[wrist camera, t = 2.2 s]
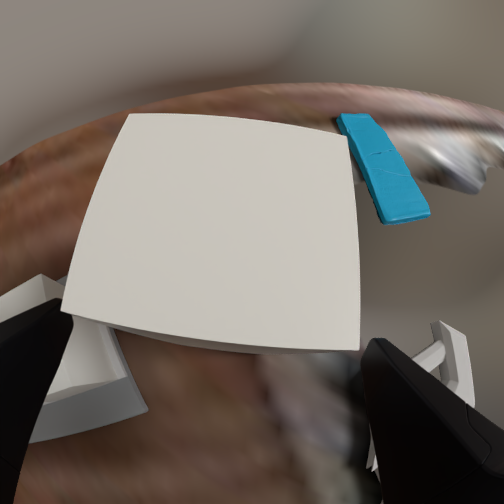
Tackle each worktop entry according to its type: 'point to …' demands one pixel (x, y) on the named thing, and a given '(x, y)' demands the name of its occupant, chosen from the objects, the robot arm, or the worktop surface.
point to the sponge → (383, 171)
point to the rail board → (90, 406)
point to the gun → (443, 369)
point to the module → (222, 237)
